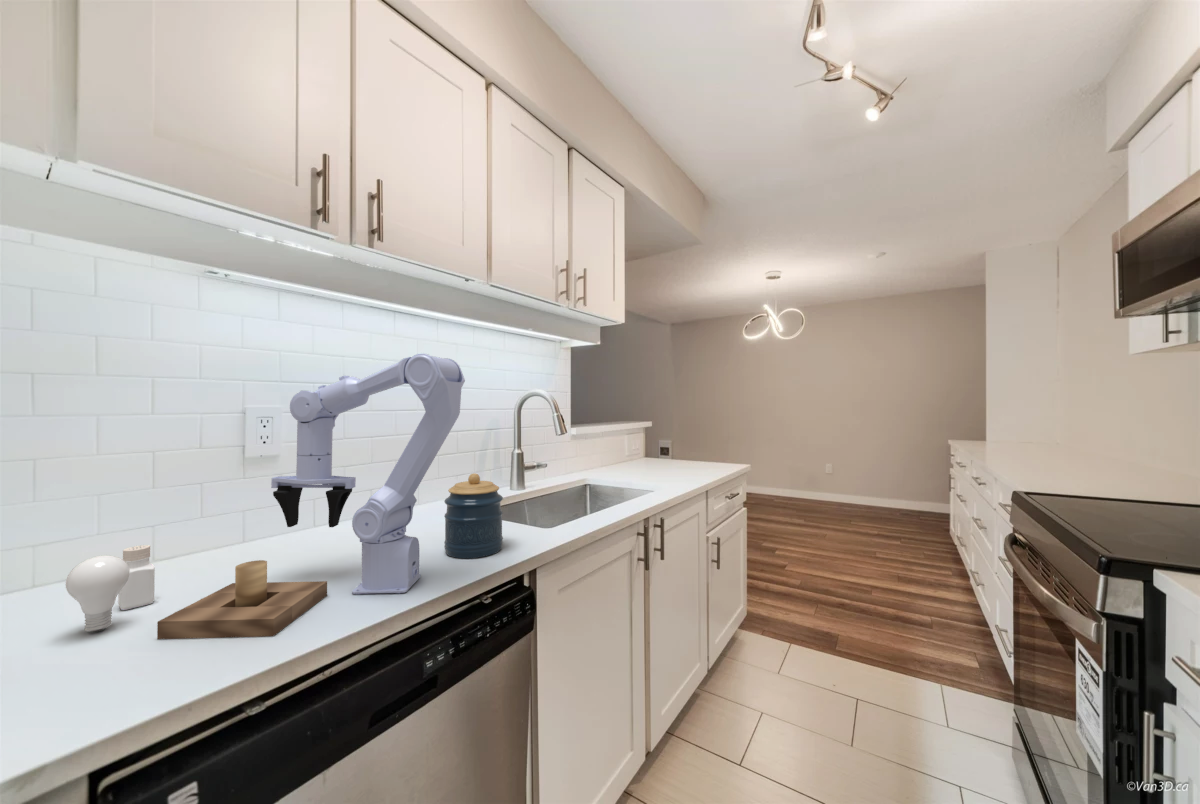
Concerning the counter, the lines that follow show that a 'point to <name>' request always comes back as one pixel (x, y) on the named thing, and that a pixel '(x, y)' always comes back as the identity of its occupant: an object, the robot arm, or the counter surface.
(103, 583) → the lightbulb
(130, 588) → the salt shaker
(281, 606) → the socket board
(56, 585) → the counter surface
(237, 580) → the peg
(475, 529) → the canister
